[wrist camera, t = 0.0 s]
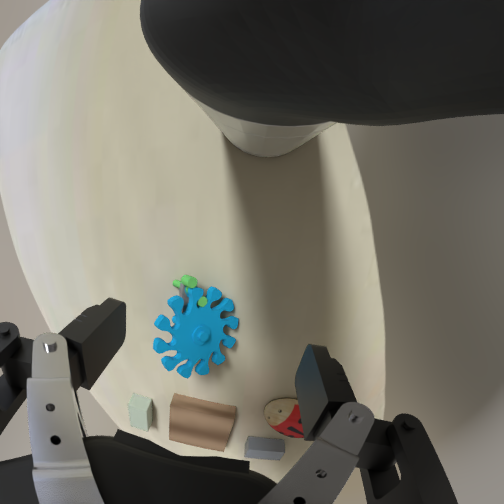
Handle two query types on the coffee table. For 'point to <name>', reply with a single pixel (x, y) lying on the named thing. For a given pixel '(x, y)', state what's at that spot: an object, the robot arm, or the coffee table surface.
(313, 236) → the coffee table surface
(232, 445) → the coffee table surface
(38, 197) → the coffee table surface
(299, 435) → the ladybug figurine
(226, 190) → the coffee table surface
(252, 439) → the slate brick
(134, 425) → the sage brick
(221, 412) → the walnut block
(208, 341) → the gear
